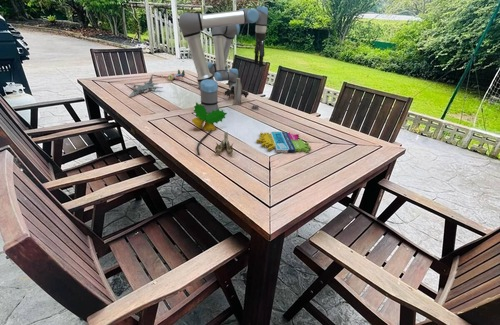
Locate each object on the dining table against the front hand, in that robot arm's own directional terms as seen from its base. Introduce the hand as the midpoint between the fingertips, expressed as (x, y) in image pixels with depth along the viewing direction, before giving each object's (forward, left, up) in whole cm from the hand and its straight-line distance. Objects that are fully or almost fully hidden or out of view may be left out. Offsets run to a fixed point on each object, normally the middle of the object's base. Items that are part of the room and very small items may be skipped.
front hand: (258, 65), depth 191 cm
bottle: (+13, +11, -33) cm, 37 cm away
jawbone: (-70, +38, -33) cm, 86 cm away
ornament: (-37, +41, -33) cm, 65 cm away
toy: (+108, +58, -33) cm, 127 cm away
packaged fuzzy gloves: (-64, +3, -33) cm, 72 cm away
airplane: (+54, +86, -33) cm, 106 cm away
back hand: (+13, +11, -26) cm, 32 cm away
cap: (0, 0, -31) cm, 31 cm away
